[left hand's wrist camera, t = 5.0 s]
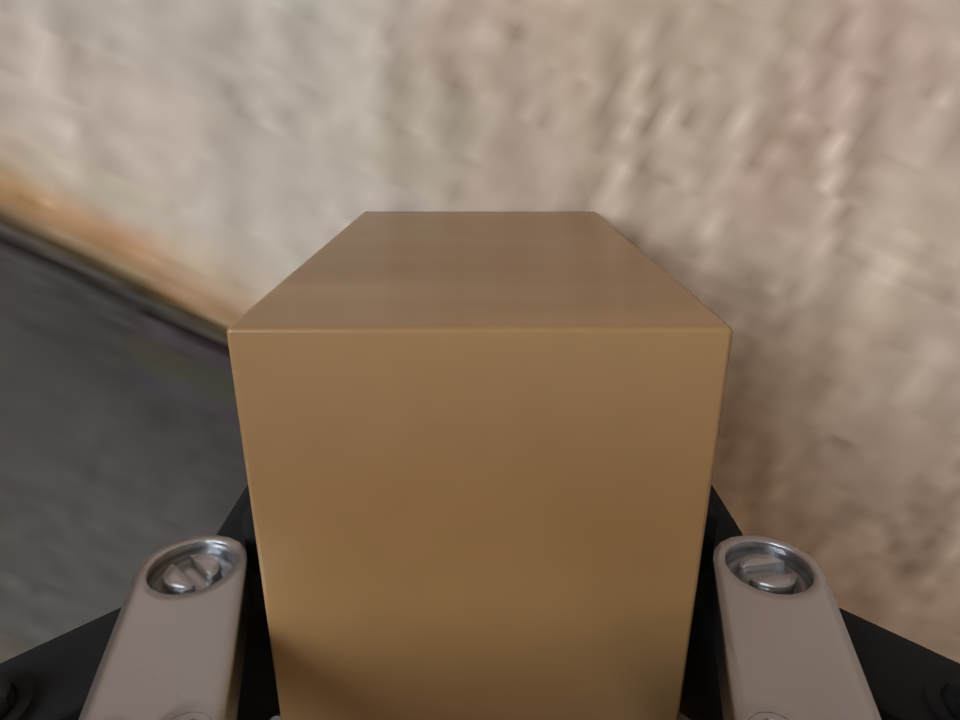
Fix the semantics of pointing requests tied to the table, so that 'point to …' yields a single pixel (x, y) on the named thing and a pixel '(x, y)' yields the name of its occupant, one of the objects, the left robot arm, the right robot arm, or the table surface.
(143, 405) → the table surface
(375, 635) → the bar
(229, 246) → the table surface
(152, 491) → the table surface
